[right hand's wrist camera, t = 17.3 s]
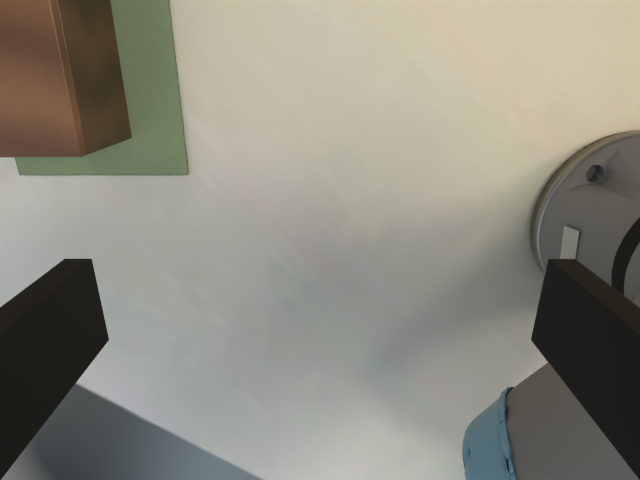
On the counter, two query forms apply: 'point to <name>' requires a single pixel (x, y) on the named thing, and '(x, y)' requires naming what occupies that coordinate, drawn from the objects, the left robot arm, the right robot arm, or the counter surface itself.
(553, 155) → the counter surface
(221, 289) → the counter surface
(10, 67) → the walnut box
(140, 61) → the mat
